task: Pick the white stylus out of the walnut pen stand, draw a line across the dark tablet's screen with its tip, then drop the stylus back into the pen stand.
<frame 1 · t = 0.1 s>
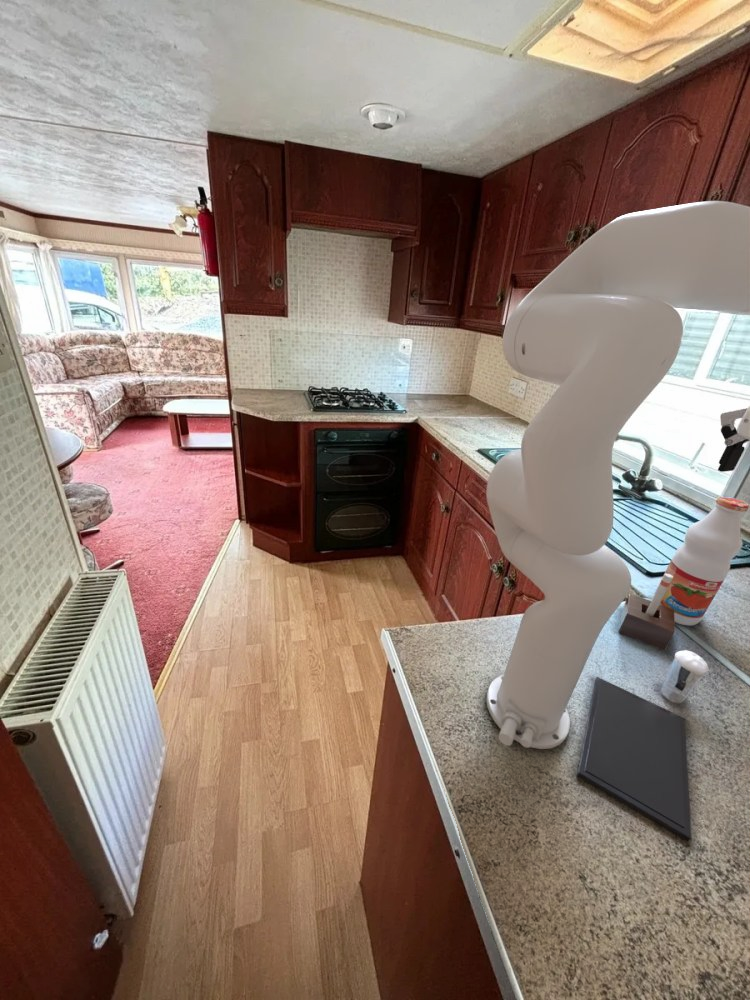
stylus: (654, 603, 81), in the pen stand
milkshake: (672, 698, 69), on the countertop
fruit juice: (673, 612, 91), on the countertop
tablet: (633, 747, 60), on the countertop
pen stand: (641, 629, 84), on the countertop
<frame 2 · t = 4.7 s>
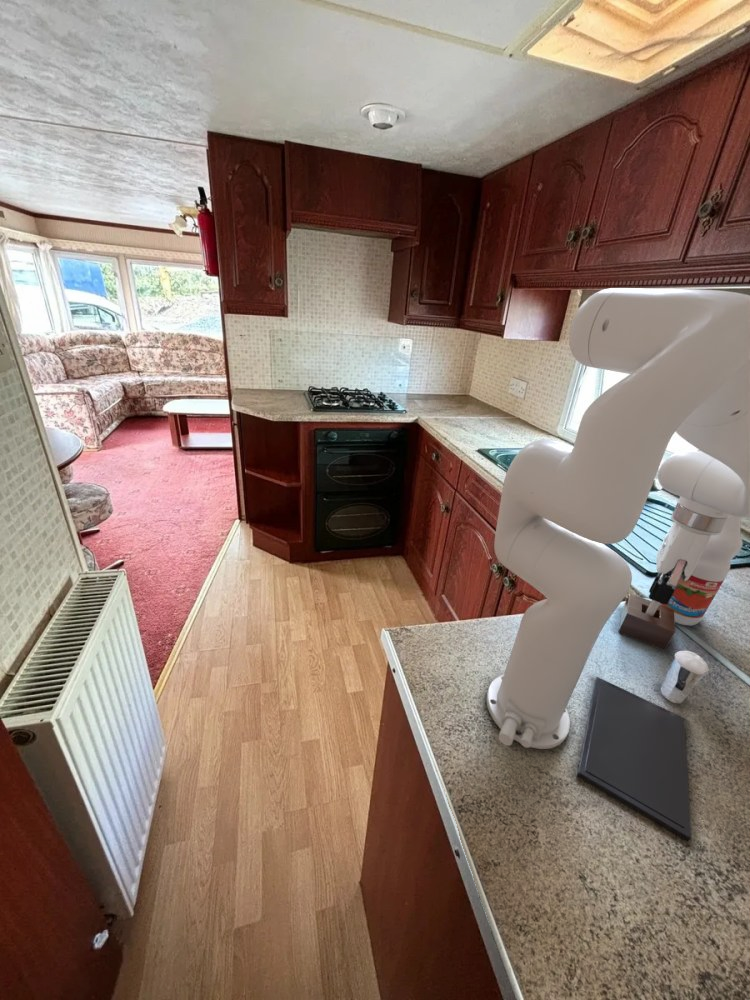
hand: (657, 597, 81), 9 cm above the countertop, tool pointing down, fingers closed on stylus, 1 cm apart
stylus: (654, 603, 81), in the pen stand, touching gripper
everything else where it was.
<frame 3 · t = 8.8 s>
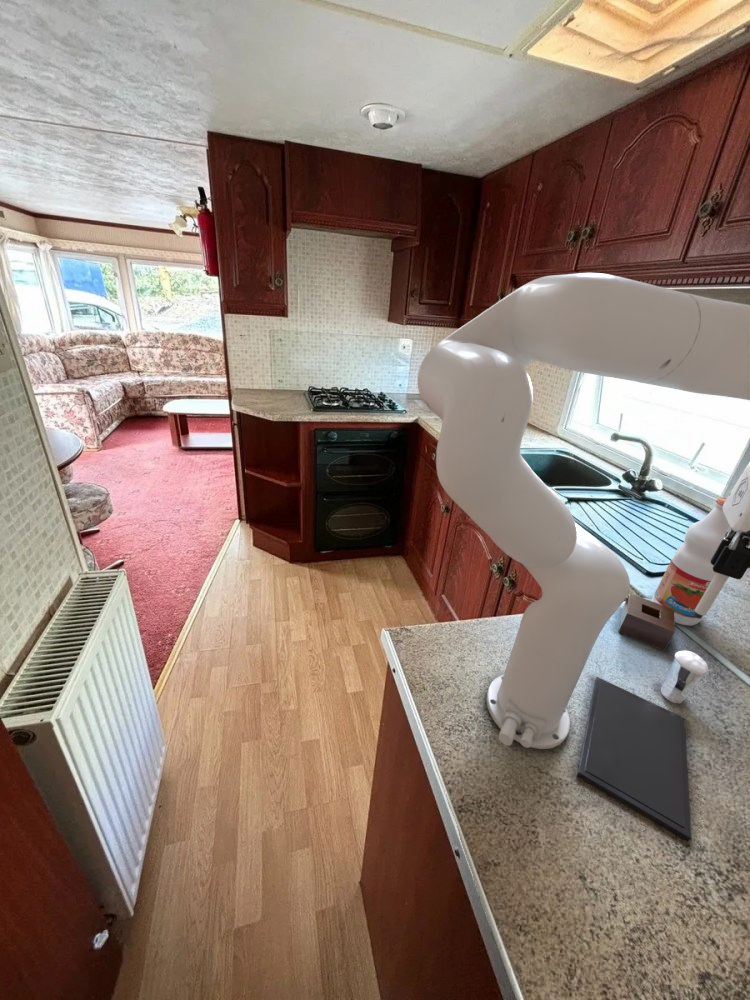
hand: (724, 570, 57), 27 cm above the countertop, tool pointing down, fingers closed on stylus, 1 cm apart
stylus: (720, 579, 58), point 25 cm above the countertop, touching gripper
everything else where it was.
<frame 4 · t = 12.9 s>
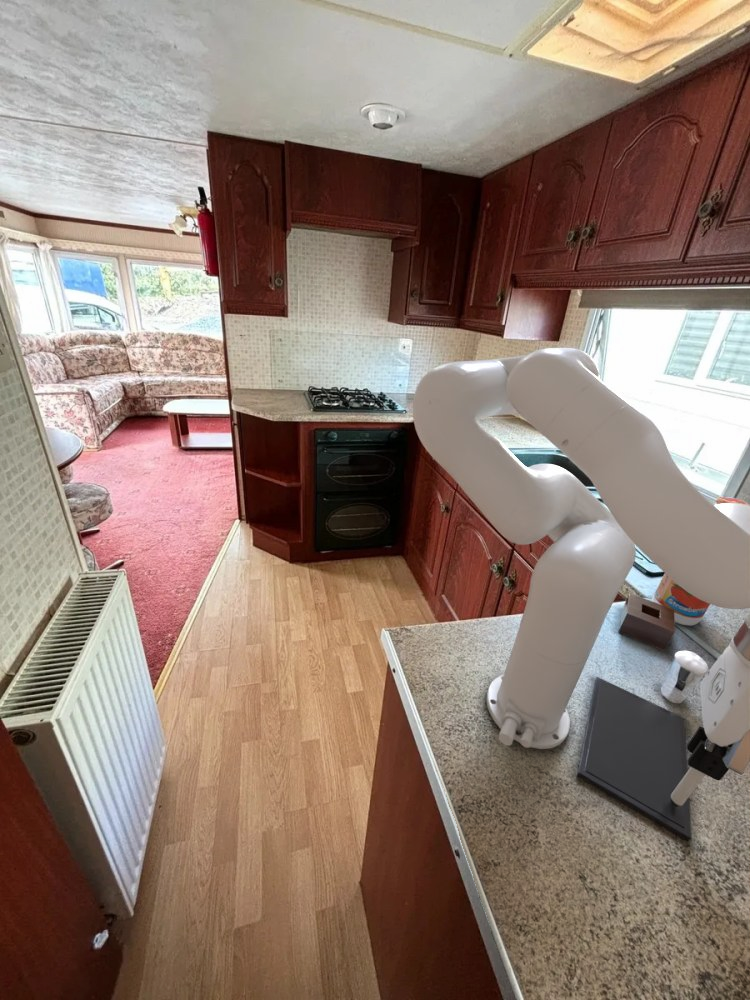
hand: (702, 762, 49), 10 cm above the countertop, tool pointing down, fingers closed on stylus, 1 cm apart
stylus: (698, 770, 49), point 8 cm above the countertop, touching gripper
everything else where it was.
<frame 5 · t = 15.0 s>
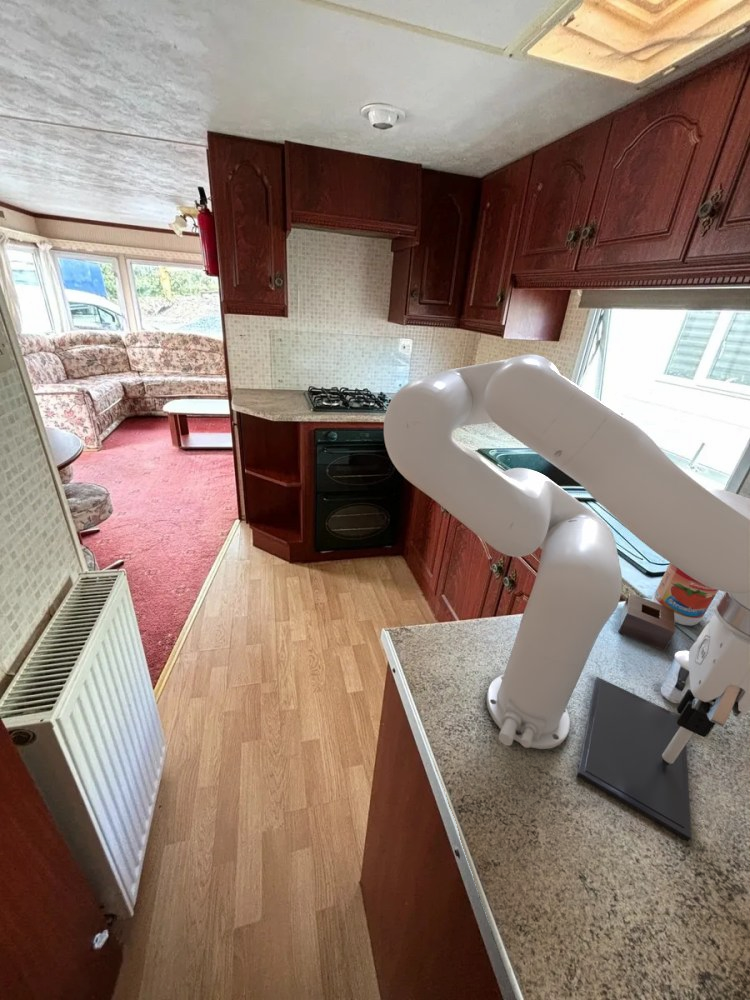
hand: (690, 722, 54), 10 cm above the countertop, tool pointing down, fingers closed on stylus, 1 cm apart
stylus: (686, 730, 54), point 8 cm above the countertop, touching gripper
everything else where it was.
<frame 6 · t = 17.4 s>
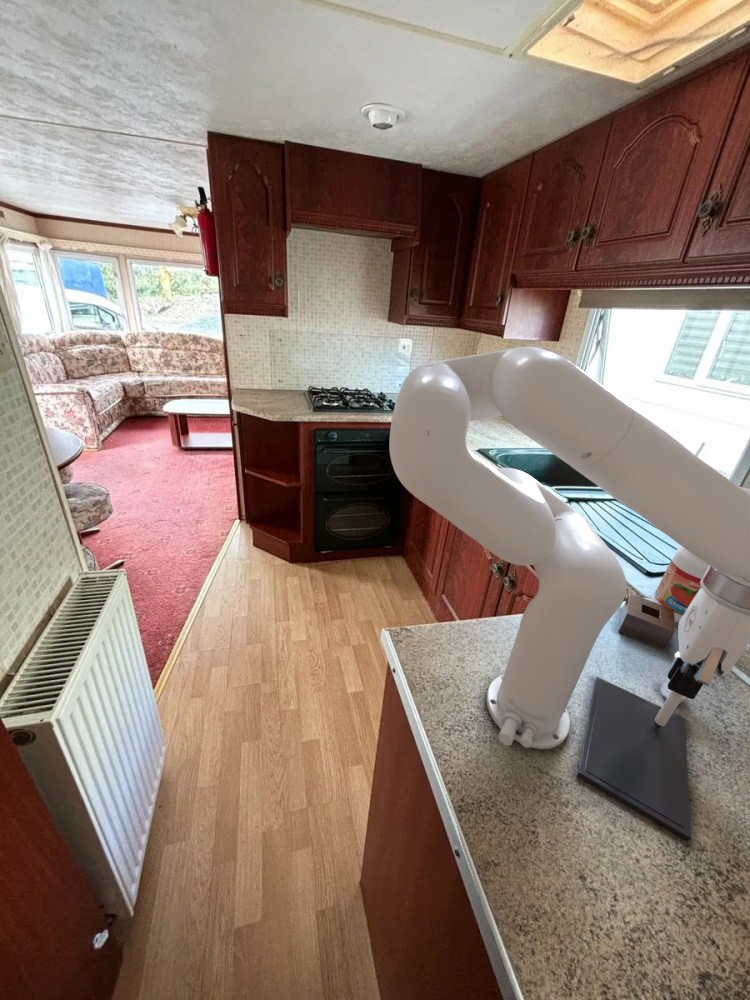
hand: (679, 687, 59), 10 cm above the countertop, tool pointing down, fingers closed on stylus, 1 cm apart
stylus: (676, 694, 59), point 8 cm above the countertop, touching gripper
everything else where it was.
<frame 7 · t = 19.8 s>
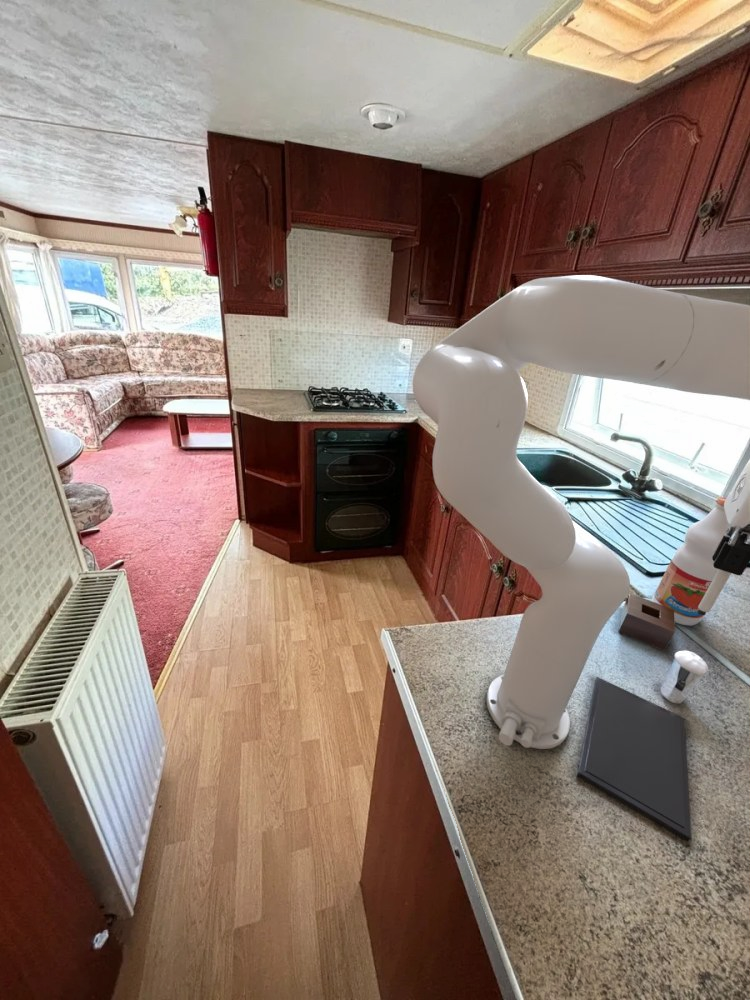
hand: (726, 566, 57), 27 cm above the countertop, tool pointing down, fingers closed on stylus, 1 cm apart
stylus: (722, 575, 58), point 26 cm above the countertop, touching gripper
everything else where it was.
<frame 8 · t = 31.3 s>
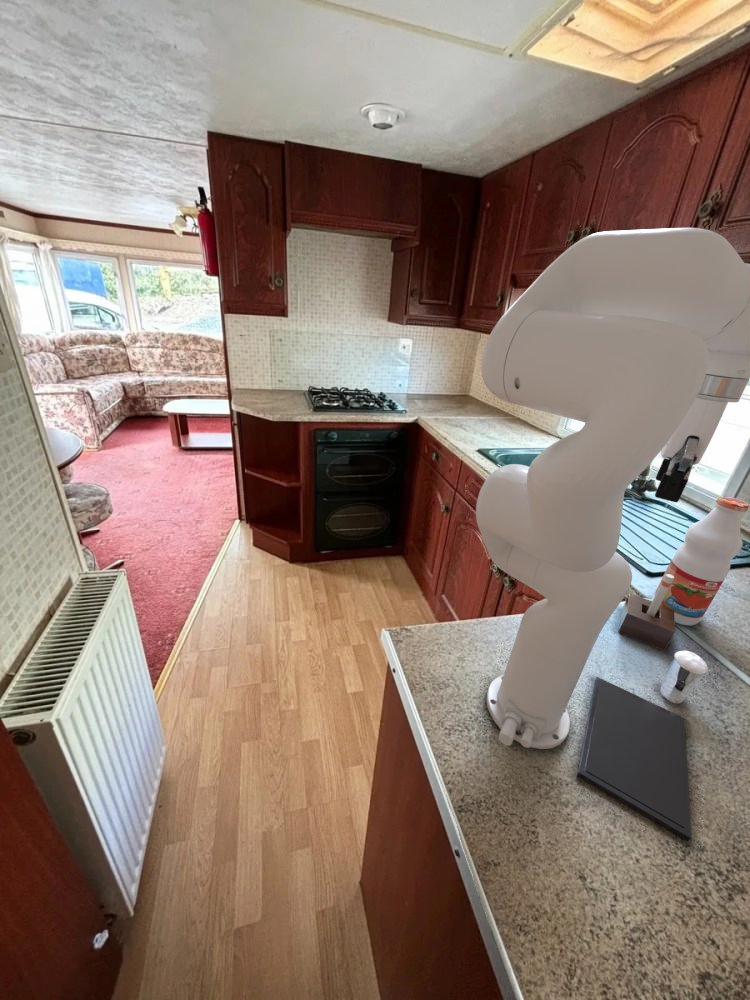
hand: (665, 490, 68), 32 cm above the countertop, tool pointing down, fingers open, 9 cm apart
stylus: (655, 604, 81), in the pen stand
everything else where it was.
at the end: stylus 0.2 cm off-centre in the pen stand, point 7.0 cm above the pen stand's base; stylus tilted 0°; tablet moved 0.0 cm from its start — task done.
